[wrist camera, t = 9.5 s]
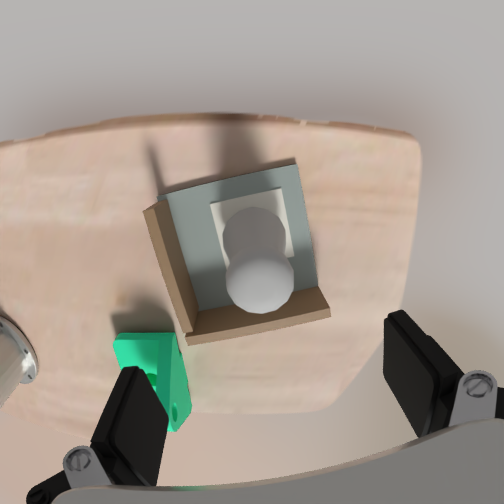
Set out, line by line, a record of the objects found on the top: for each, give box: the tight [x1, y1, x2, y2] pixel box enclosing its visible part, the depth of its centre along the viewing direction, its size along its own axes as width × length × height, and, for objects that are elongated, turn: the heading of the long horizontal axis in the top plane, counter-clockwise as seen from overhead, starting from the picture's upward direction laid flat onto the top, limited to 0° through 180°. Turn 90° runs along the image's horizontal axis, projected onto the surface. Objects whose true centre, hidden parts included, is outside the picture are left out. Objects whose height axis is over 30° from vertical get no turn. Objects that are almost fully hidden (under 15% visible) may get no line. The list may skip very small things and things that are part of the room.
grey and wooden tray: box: [143, 164, 331, 346], centre depth 29 cm, size 14×14×6 cm
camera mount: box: [113, 332, 192, 432], centre depth 32 cm, size 12×8×10 cm, turn 3°
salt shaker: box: [222, 207, 294, 314], centre depth 25 cm, size 6×6×13 cm
